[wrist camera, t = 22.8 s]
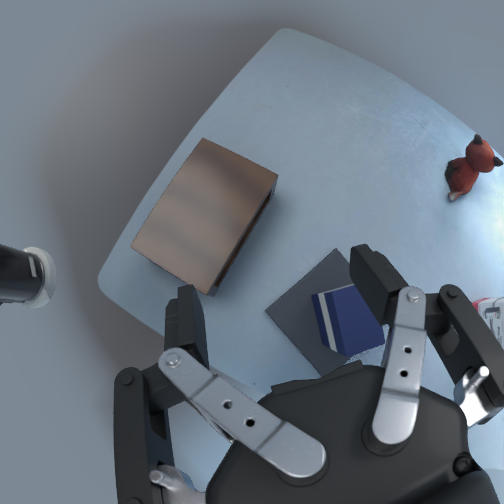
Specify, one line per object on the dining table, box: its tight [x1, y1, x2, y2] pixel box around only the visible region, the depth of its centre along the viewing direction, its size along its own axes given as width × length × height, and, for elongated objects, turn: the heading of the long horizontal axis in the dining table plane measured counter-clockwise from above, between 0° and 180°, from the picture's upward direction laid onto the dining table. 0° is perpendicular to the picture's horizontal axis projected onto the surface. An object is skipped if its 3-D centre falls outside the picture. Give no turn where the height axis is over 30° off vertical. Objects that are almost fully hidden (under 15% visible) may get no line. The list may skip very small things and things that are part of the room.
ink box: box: [472, 297, 504, 349], centre depth 35 cm, size 9×5×12 cm, turn 7°
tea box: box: [311, 284, 385, 357], centre depth 36 cm, size 5×8×11 cm, turn 13°
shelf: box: [130, 138, 278, 296], centre depth 40 cm, size 18×12×7 cm, turn 150°
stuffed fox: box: [445, 134, 503, 201], centre depth 40 cm, size 8×11×12 cm
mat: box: [265, 248, 353, 377], centre depth 41 cm, size 14×14×1 cm
